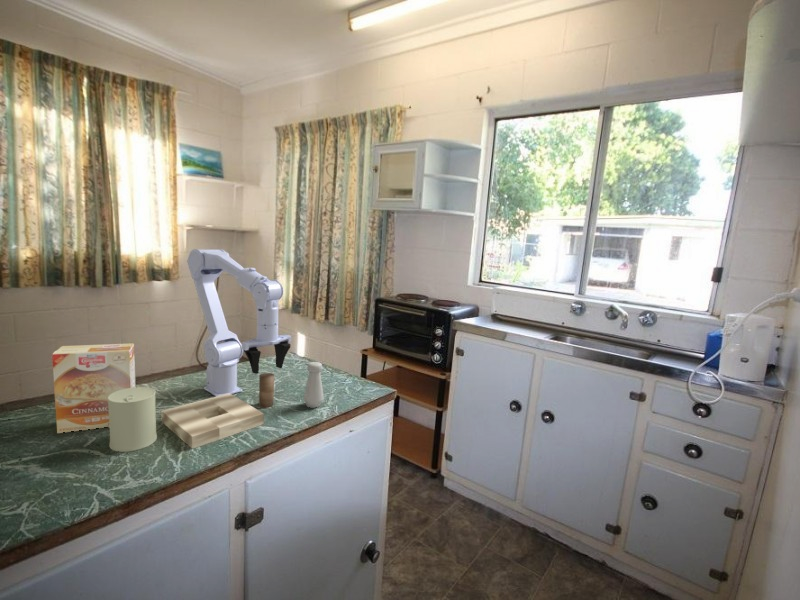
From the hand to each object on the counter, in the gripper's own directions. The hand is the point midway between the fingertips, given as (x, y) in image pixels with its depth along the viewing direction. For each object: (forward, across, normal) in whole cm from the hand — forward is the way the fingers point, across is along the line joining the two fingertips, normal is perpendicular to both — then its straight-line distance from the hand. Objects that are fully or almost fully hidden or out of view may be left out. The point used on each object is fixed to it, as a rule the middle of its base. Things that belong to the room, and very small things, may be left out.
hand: (267, 370), depth 115 cm
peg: (+11, 0, 0) cm, 11 cm away
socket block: (+11, -16, 0) cm, 19 cm away
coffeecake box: (+10, -36, +17) cm, 41 cm away
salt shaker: (+11, +10, -8) cm, 17 cm away
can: (+11, -33, +2) cm, 35 cm away
